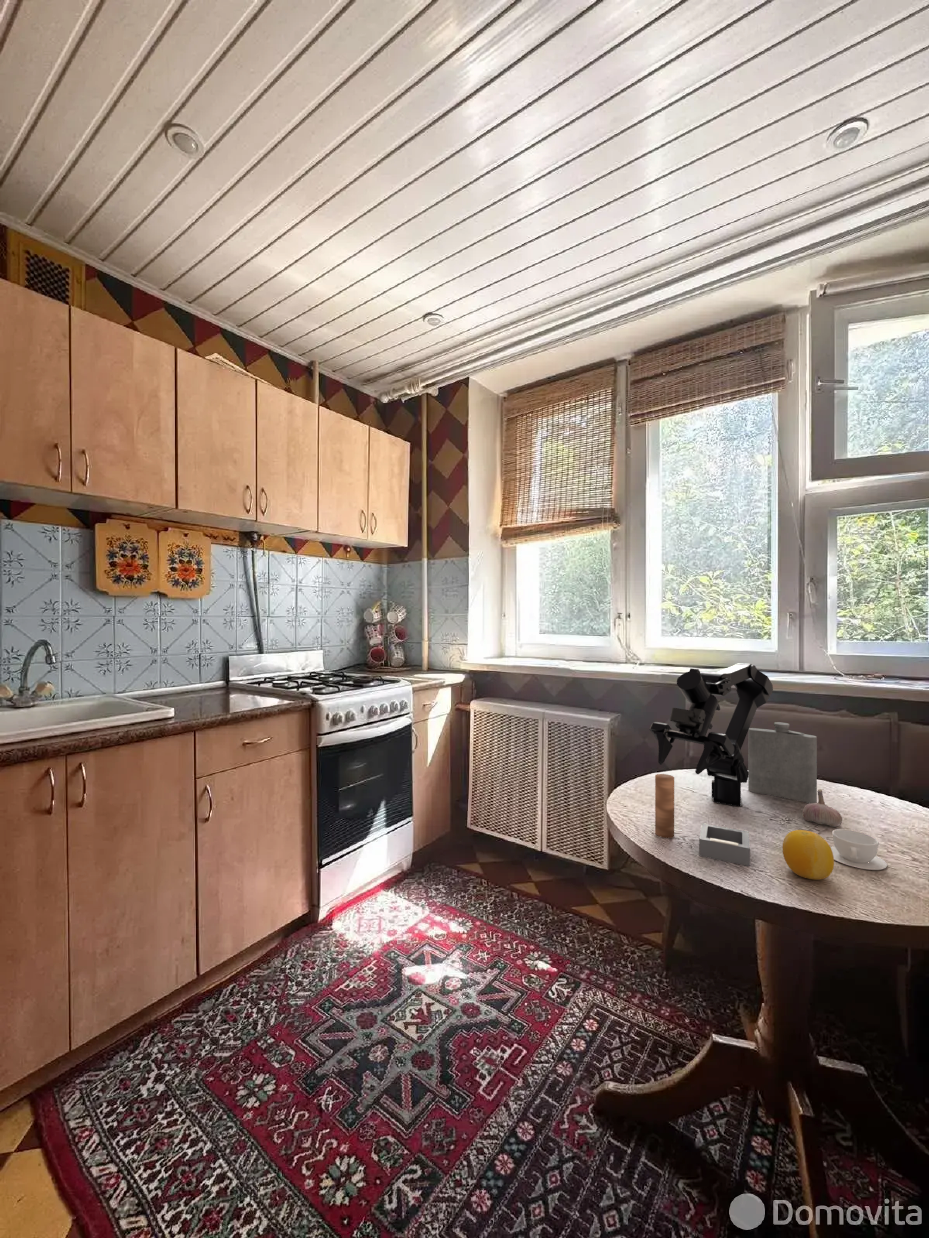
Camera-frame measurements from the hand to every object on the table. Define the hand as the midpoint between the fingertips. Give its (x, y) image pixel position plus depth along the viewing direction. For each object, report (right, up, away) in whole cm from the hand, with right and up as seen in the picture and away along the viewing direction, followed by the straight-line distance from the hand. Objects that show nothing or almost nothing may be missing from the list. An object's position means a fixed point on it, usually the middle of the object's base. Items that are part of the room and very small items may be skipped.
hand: (677, 768), depth 117 cm
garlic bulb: (+35, -14, +1) cm, 38 cm away
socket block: (+4, -13, -14) cm, 19 cm away
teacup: (+29, -14, -17) cm, 36 cm away
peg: (-5, -13, -5) cm, 15 cm away
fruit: (+15, -14, -23) cm, 30 cm away
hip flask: (+37, -14, +19) cm, 44 cm away
